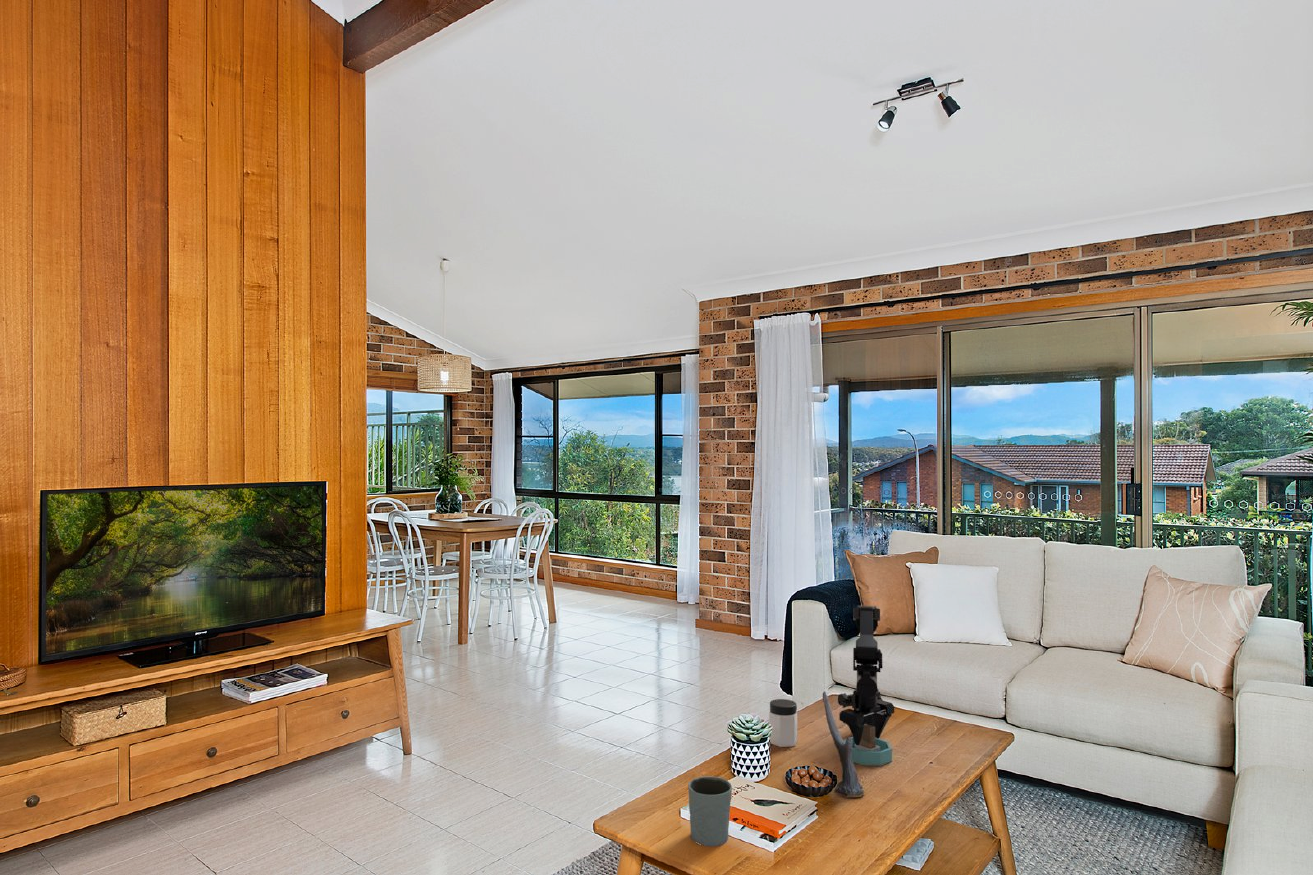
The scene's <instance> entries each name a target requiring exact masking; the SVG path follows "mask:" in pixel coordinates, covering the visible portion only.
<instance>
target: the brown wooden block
mask: <svg viewBox="0 0 1313 875" xmlns="http://www.w3.org/2000/svg"><path fill="white" fill-rule="evenodd" d="M860 745H861V746H863V747H866V748H869V749H872V748H875V727H874V726H871V725H867V724H864V729H863V733H862V737H861V741H860Z"/></svg>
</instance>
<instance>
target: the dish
mask: <svg viewBox="0 0 1313 875" xmlns="http://www.w3.org/2000/svg"><path fill="white" fill-rule="evenodd" d="M850 738H851V739H852V740H853V744H852V761H853V763H855V764H859V765H861V766H879V767H880V766H884V765H885V764H888V763H891V762H893V748H892V746H891V744H890V741H887V740H884V739H881V738H879V739H877V738H875V748H872V749H869V748H866V747H863V746H861V745H860V744H859V746H858V745H856V744H855V742H854V739H853V736H851V737H850ZM843 741H844V743H846V738H844V739H843Z"/></svg>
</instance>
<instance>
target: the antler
mask: <svg viewBox="0 0 1313 875" xmlns="http://www.w3.org/2000/svg"><path fill="white" fill-rule="evenodd" d="M822 701H823V705H824V710H825V716H826V722H827V725H828V729H829V731H830V732H829V733H830V735H831V738H832V741H833V742H834V746H835V748H836V750H837V753H838V756H839V761H840V763H841V767H842V768H841V769H842V771H841V772H842V773H841V781H839V782H838V783H837V784H836V788H835V789H834V793H835V794H836V795H839V796H841V797H844V798H846V799H848V798H859V797H862V796H863V795H865V792H866V791H865V790H863V788H864V787H863V785H861V783H860V782H859V778H858V772H857V770H856V767H855V764H854V762H853V761H852V744H853V740H852V739H851V737H850V736H847V737H846V738H845V739H846V743H844V739H843V737H842V736H841V733H840V731H839V729H838V726H837V723H836V720H835V716H834V713H833V710H832V707H831V704H830V701H829V697H828V695H827V692H826V691H823V692H822Z"/></svg>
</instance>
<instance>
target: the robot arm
mask: <svg viewBox="0 0 1313 875" xmlns="http://www.w3.org/2000/svg"><path fill="white" fill-rule="evenodd" d="M852 612H853V615H852V616H853V618H852V619H853V621H855V626H856V628H857V630H858V631H859V637H858V638H857V639H856V640H855V647H853V648H852V649H853V650H852V652H853V653H852V658H853V659H852V660H853V662H852V663H853V664H852V671H856V686H855V687H856V688H855V689H854V690H853V692H852V693H850V694H847V693H845V692H844V693H840V694H837V704H838V705H839V706H841V707H842V708H843V709H844V708H845V709H844V710H841V711H840V712H838V714H839V715H838V716H839V717H838V720H839V721H841V722H842V723H843V724H845V725H847V726H848V728H849V730H850V733H851V735H852V736H851V737H853V739H854V742H855V744H856V745H858V746H859V744H860V741H861V737H862V733H863V729H864V724H867V725H871V726H874V727H875V738H877V739H880V737H881V735H882V733H883V731H884V729H885V727H886V726H887V724H888V722H889V720H890V718H891V717H892V716H893V714H895V706H894V704H893V703H892V702H890V701H886V700H883V698H882V695H881V691H879V688H878V673H881V669H883V652H882V651H881V649H880V648H879V647H878V644H879V643H878V640H877V639H875V638H874V634H875V632H876V630H877V628H878V626H879V622H881V609H880V608H877V606H876V605H875V606H872V605H859V604H858V605H857V606H856V607H853V611H852ZM849 707H851V708H852V709H851V708H849ZM846 708H847V709H846Z"/></svg>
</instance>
